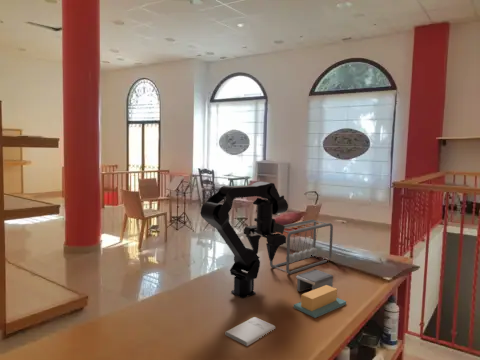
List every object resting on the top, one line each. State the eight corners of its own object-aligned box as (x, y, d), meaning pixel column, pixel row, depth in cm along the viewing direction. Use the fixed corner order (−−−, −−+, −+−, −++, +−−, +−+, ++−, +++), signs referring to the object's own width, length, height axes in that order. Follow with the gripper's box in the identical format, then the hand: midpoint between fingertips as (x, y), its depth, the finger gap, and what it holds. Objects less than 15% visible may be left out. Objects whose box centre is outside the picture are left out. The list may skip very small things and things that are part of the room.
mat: (315, 318, 115) (315, 314, 115) (293, 307, 122) (293, 304, 122) (346, 304, 125) (346, 301, 125) (324, 295, 132) (324, 292, 132)
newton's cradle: (313, 255, 178) (315, 218, 176) (331, 260, 170) (333, 222, 168) (269, 268, 159) (270, 227, 157) (287, 275, 151) (288, 232, 149)
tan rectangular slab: (311, 311, 117) (312, 299, 117) (301, 306, 121) (301, 294, 120) (336, 300, 126) (337, 288, 125) (325, 296, 129) (326, 284, 129)
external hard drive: (225, 336, 105) (253, 321, 114) (247, 348, 99) (275, 330, 108) (225, 331, 104) (253, 315, 113) (247, 342, 99) (275, 325, 108)
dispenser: (312, 298, 129) (313, 282, 128) (295, 291, 135) (296, 275, 134) (332, 291, 136) (332, 275, 135) (314, 284, 142) (315, 269, 141)
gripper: (298, 218, 134) (296, 260, 135) (266, 209, 149) (265, 247, 151) (274, 221, 127) (272, 266, 129) (243, 212, 143) (242, 252, 145)
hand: (263, 257), depth 139 cm, fingers open, 9 cm apart
